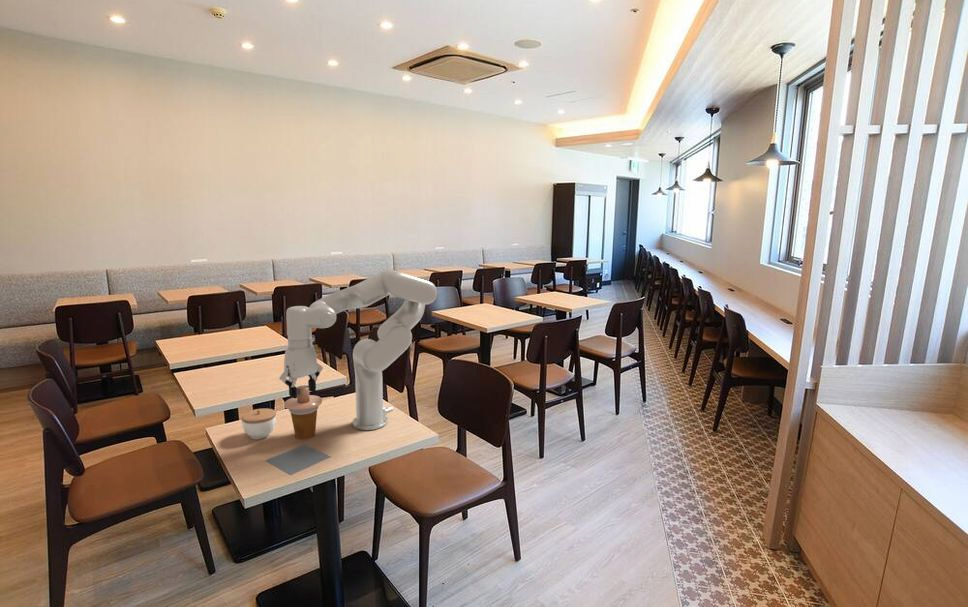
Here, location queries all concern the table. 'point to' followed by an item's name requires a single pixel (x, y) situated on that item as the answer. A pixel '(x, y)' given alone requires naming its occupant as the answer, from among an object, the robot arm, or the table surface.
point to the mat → (297, 459)
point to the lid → (303, 400)
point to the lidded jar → (259, 423)
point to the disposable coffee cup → (304, 422)
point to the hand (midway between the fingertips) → (303, 393)
